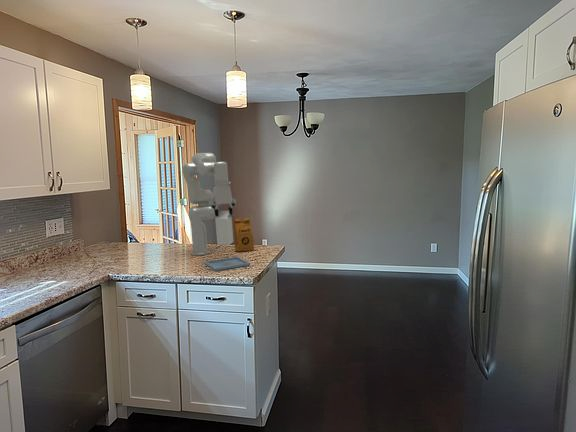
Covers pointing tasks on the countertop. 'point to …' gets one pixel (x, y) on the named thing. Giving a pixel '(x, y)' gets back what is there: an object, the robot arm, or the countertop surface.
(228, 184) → the robot arm
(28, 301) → the countertop surface
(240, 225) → the coffee package
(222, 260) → the tray
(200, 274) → the countertop surface
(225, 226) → the milk carton
